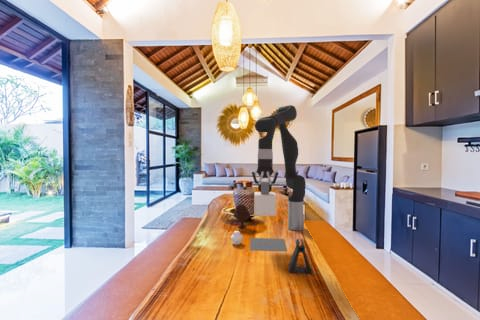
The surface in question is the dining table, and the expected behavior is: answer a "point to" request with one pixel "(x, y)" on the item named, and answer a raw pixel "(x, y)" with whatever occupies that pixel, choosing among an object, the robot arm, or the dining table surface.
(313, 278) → the dining table surface
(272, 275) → the dining table surface
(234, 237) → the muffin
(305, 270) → the phone stand
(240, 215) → the ice cream bowl
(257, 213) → the cover
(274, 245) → the mat
